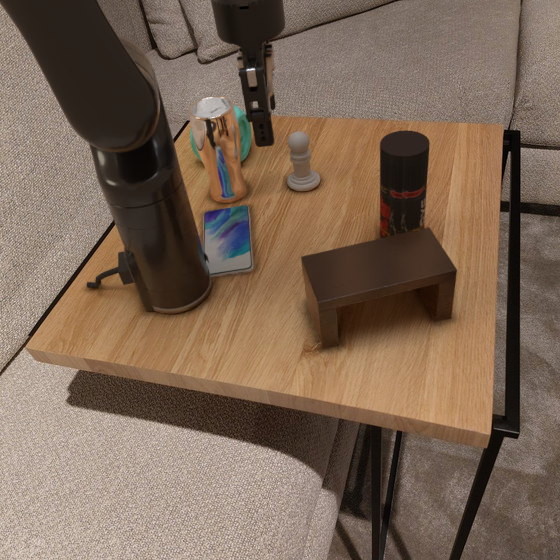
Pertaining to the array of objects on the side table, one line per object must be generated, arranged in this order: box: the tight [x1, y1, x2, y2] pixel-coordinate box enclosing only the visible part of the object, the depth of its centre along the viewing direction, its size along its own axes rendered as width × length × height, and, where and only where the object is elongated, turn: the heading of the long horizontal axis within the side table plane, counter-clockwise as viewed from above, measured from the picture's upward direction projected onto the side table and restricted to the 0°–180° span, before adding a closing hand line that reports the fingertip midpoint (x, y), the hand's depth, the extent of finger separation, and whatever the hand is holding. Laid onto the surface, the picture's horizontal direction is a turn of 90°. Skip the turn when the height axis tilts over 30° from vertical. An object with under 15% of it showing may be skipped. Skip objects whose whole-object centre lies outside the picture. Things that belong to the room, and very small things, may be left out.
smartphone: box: [202, 204, 254, 278], centre depth 86 cm, size 7×1×15 cm
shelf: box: [300, 226, 458, 350], centre depth 70 cm, size 16×8×8 cm, turn 102°
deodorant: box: [379, 130, 431, 239], centre depth 77 cm, size 6×6×15 cm
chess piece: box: [286, 130, 321, 192], centre depth 91 cm, size 5×5×9 cm
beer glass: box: [188, 95, 248, 204], centre depth 90 cm, size 7×7×15 cm
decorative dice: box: [189, 104, 252, 163], centre depth 100 cm, size 8×8×8 cm
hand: (266, 126), depth 72 cm, fingers open, 8 cm apart
